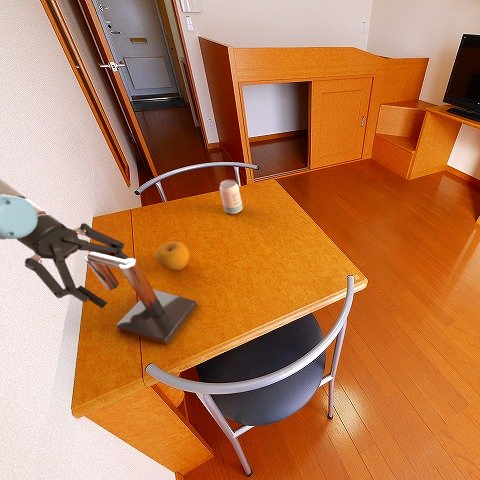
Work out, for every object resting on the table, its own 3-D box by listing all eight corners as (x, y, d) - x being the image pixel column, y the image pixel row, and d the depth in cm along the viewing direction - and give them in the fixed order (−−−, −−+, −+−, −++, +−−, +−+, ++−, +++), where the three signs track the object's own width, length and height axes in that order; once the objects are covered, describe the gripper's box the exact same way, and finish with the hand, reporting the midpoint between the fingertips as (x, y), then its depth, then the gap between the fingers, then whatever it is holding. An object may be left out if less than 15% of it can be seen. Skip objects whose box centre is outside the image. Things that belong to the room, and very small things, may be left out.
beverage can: (229, 204, 112) (223, 177, 104) (245, 206, 111) (241, 180, 103) (221, 214, 107) (215, 186, 99) (238, 216, 106) (232, 189, 98)
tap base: (197, 305, 75) (195, 300, 73) (167, 345, 66) (164, 340, 64) (153, 293, 77) (151, 288, 76) (119, 329, 68) (115, 325, 67)
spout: (166, 308, 71) (139, 259, 59) (157, 318, 68) (127, 269, 57) (124, 296, 73) (90, 246, 62) (115, 305, 71) (77, 256, 59)
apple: (155, 274, 82) (143, 252, 76) (174, 254, 89) (164, 233, 83) (182, 280, 81) (172, 258, 75) (199, 259, 88) (191, 238, 82)
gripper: (75, 206, 70) (151, 262, 77) (-31, 266, 54) (78, 331, 61) (81, 191, 66) (160, 253, 73) (-33, 252, 49) (84, 324, 56)
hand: (123, 288), depth 67 cm, fingers open, 10 cm apart
